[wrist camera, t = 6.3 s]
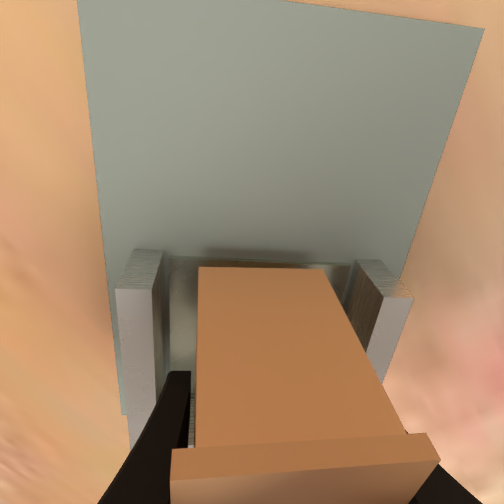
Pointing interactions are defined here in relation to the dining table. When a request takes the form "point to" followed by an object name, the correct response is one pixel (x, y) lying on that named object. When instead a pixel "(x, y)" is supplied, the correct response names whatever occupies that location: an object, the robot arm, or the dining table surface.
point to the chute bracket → (185, 319)
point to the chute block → (289, 401)
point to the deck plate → (265, 130)
